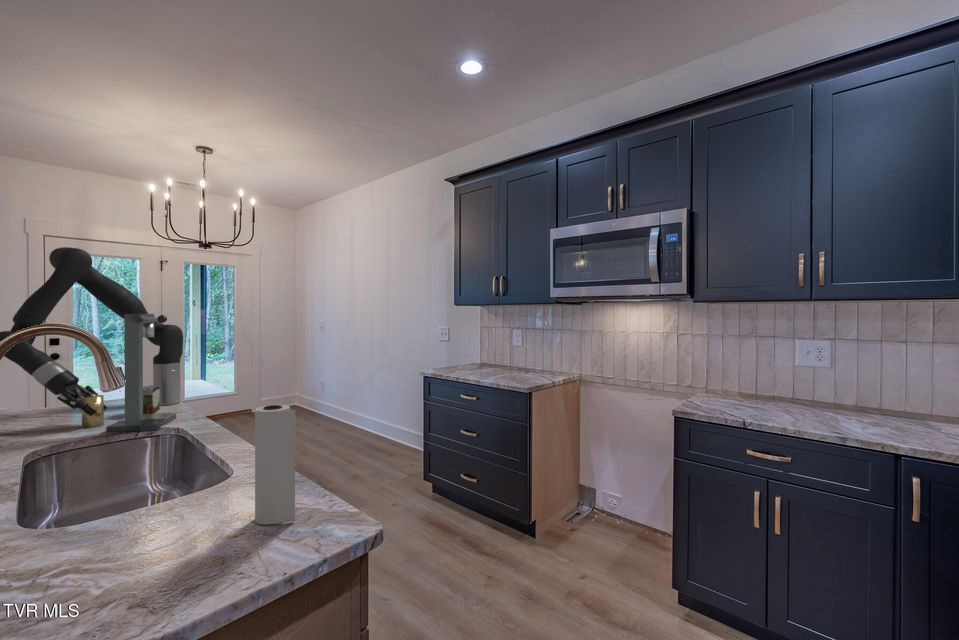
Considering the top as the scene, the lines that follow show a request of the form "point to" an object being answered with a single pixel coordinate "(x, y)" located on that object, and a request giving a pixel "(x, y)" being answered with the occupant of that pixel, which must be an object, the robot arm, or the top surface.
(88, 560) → the top surface
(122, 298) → the robot arm
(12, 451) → the top surface
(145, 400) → the food container
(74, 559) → the top surface
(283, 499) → the paper towel roll
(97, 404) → the cylinder
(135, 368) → the press
